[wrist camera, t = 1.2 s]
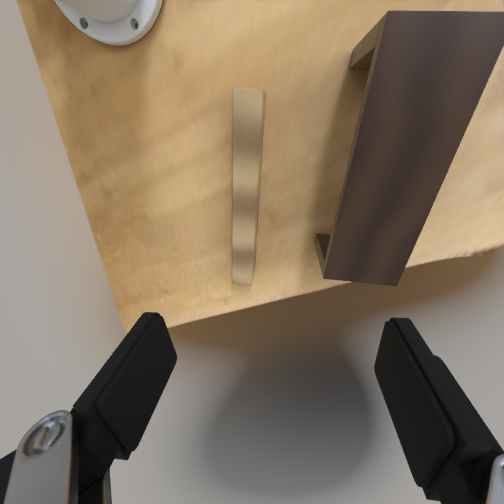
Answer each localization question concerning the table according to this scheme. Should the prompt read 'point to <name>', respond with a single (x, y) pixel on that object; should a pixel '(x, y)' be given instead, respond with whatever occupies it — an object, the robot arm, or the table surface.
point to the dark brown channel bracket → (406, 134)
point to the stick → (246, 179)
